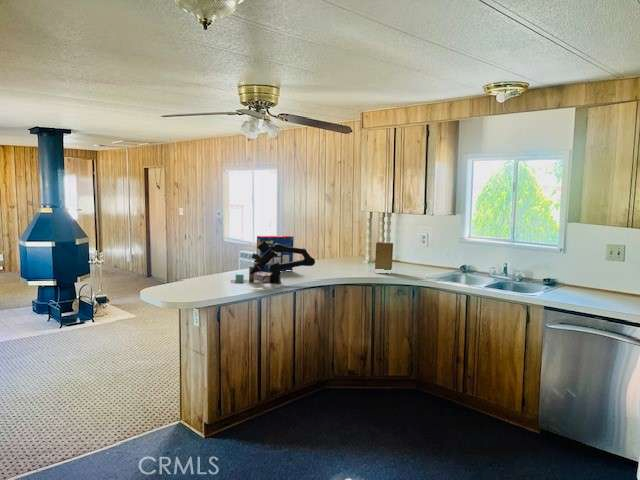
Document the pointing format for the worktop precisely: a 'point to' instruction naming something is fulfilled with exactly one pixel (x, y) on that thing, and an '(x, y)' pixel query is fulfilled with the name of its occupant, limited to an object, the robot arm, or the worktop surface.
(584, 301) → the worktop surface
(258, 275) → the candy bar box
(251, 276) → the walnut strip
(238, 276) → the teal block
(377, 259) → the food packaging
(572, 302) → the worktop surface
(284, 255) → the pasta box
